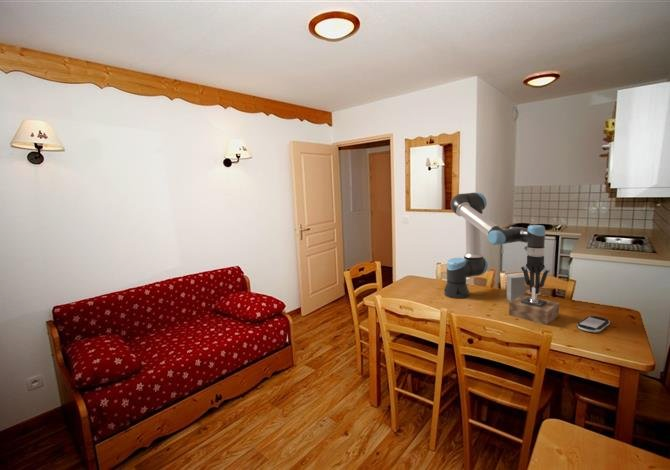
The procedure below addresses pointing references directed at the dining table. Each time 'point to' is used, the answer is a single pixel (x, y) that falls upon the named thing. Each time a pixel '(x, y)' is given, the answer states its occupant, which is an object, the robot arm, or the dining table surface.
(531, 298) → the peg
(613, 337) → the dining table surface
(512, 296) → the skincare box
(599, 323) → the gaming console
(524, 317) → the socket block
